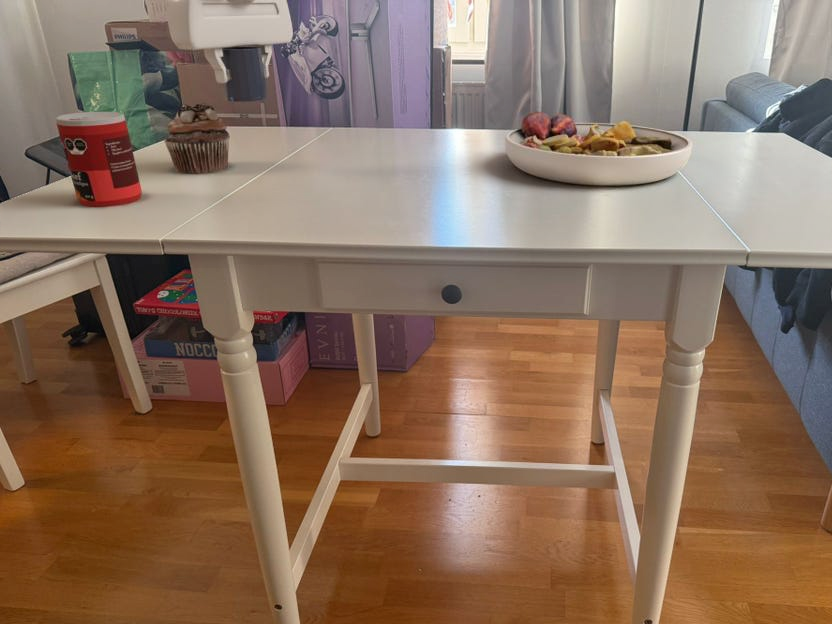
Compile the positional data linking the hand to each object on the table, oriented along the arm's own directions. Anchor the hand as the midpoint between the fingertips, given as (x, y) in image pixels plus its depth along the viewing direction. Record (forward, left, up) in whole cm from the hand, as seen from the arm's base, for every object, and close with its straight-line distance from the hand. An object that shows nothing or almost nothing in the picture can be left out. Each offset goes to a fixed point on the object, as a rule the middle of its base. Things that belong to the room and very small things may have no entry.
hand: (243, 80), depth 100 cm
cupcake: (-10, -2, -14) cm, 17 cm away
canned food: (-6, -22, -14) cm, 26 cm away
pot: (0, 0, -3) cm, 3 cm away
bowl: (+45, +31, -14) cm, 56 cm away
